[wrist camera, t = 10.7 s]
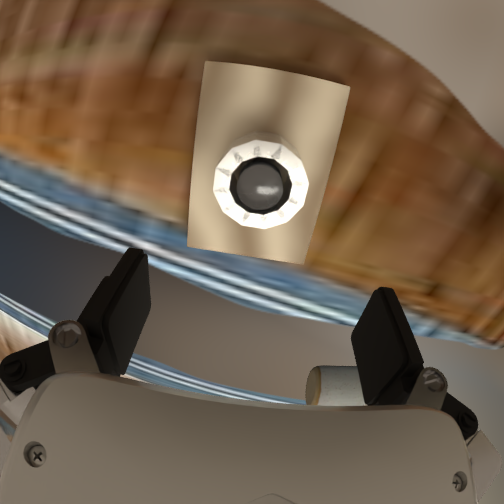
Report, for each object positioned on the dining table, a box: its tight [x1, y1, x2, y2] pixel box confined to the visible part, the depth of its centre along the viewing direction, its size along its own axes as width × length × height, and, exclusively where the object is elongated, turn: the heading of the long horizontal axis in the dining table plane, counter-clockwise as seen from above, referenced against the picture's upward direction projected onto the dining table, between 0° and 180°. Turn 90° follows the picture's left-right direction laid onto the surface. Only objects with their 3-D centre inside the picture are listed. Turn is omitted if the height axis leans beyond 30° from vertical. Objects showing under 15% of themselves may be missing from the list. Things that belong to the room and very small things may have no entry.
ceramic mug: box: [306, 366, 365, 406], centre depth 41 cm, size 11×8×8 cm
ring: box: [213, 131, 309, 229], centre depth 24 cm, size 7×7×4 cm
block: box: [187, 61, 350, 264], centre depth 26 cm, size 12×18×2 cm, turn 171°
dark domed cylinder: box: [237, 156, 283, 210], centre depth 23 cm, size 3×3×4 cm
